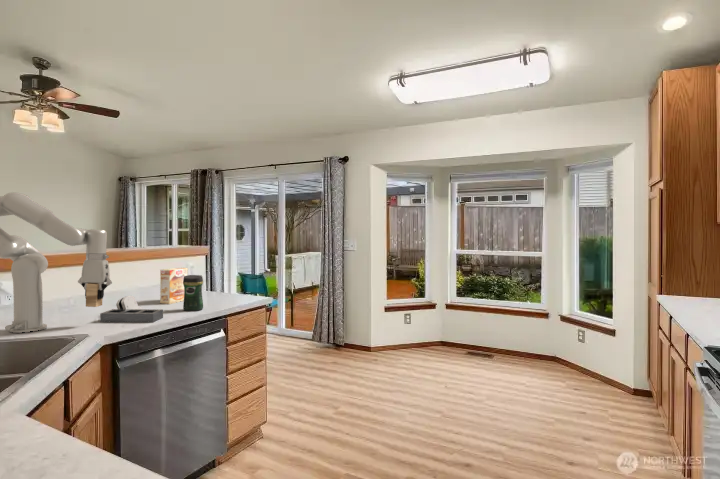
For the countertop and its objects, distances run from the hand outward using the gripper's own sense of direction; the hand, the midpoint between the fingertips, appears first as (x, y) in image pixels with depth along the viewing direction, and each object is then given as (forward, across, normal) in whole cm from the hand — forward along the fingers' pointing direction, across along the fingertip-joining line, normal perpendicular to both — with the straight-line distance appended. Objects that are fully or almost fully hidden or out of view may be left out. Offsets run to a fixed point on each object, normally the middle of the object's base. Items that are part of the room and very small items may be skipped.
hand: (94, 298), depth 185 cm
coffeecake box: (+11, -10, -60) cm, 62 cm away
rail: (+11, -11, -12) cm, 20 cm away
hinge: (+12, -2, -26) cm, 28 cm away
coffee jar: (+11, -30, -36) cm, 49 cm away
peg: (+3, 0, 0) cm, 3 cm away
